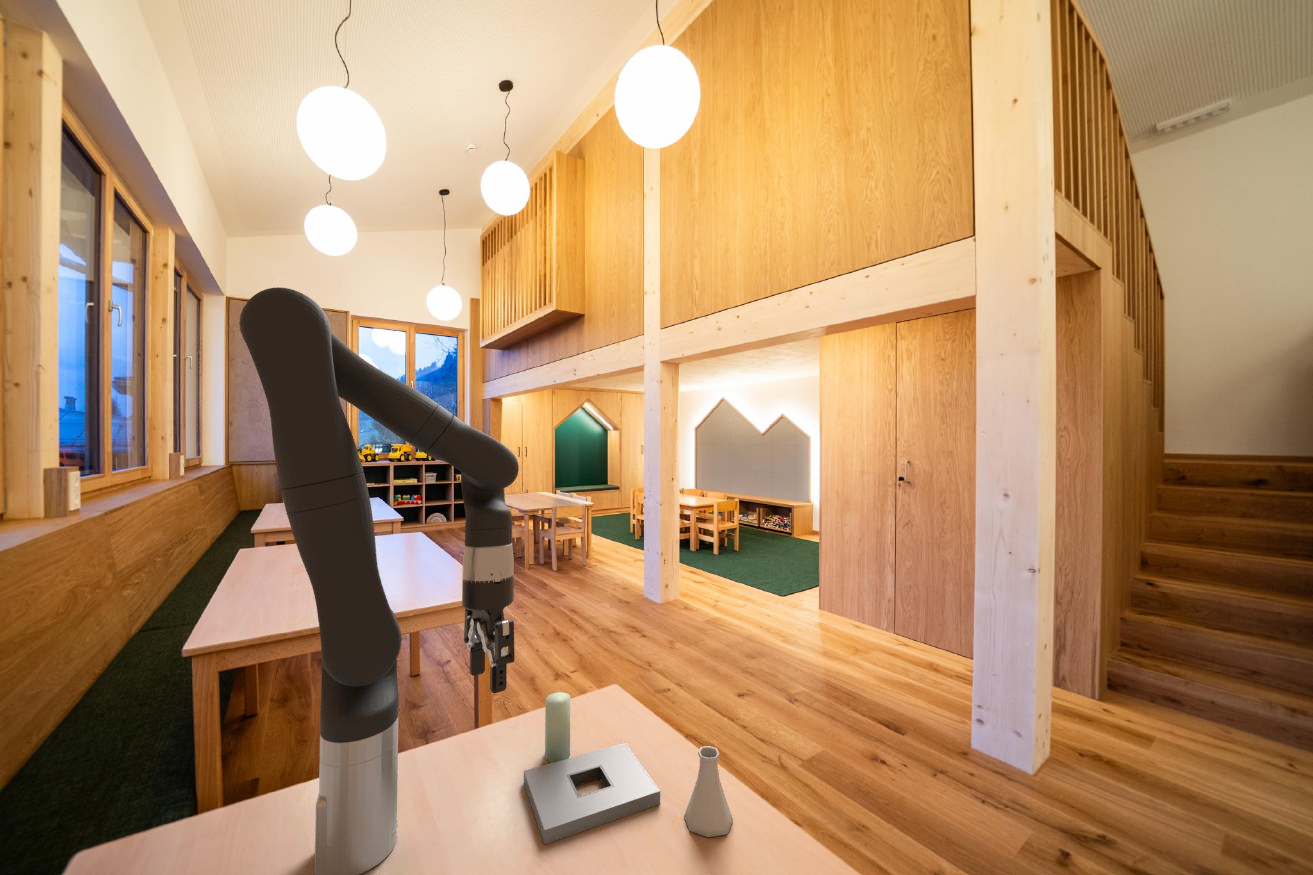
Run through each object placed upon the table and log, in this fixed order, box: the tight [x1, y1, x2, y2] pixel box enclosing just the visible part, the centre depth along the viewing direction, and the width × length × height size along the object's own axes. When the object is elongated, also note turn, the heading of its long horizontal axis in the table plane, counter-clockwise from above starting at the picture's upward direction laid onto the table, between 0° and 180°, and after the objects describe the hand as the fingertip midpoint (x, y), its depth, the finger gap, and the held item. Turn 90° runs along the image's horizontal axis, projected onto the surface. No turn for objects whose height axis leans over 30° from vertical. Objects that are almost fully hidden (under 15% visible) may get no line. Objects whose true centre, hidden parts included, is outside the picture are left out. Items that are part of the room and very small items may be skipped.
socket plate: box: [523, 742, 661, 846], centre depth 79 cm, size 18×14×2 cm
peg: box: [544, 692, 571, 763], centre depth 89 cm, size 4×4×10 cm
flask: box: [683, 745, 734, 838], centre depth 74 cm, size 7×7×10 cm
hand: (487, 682), depth 76 cm, fingers open, 8 cm apart
